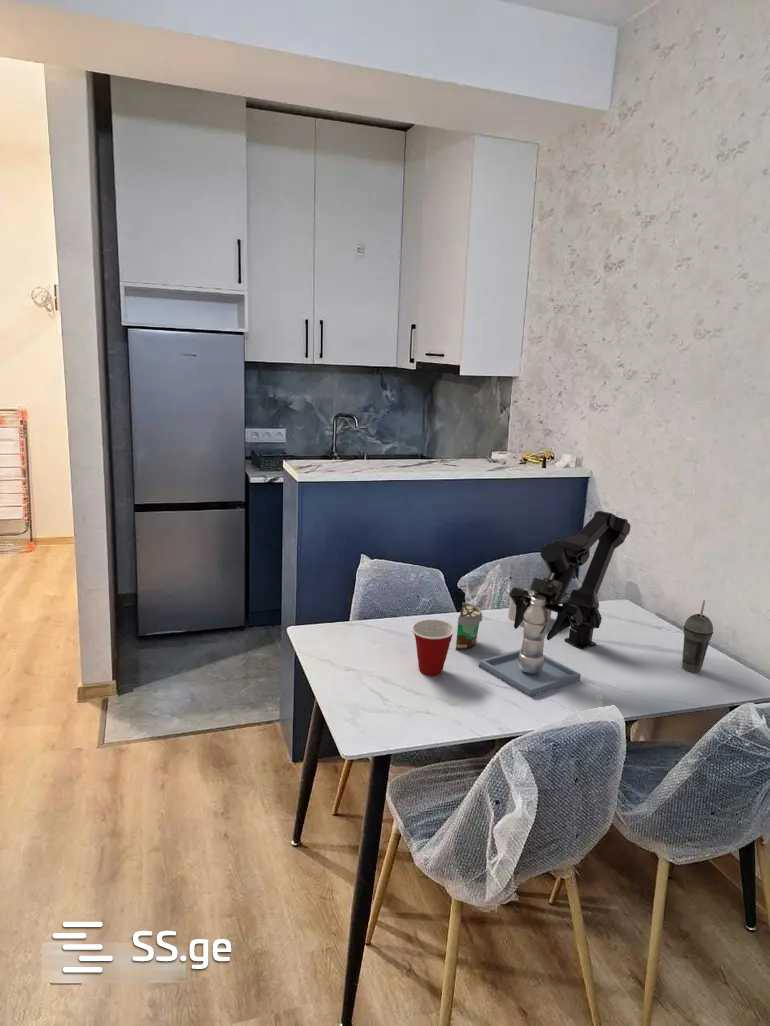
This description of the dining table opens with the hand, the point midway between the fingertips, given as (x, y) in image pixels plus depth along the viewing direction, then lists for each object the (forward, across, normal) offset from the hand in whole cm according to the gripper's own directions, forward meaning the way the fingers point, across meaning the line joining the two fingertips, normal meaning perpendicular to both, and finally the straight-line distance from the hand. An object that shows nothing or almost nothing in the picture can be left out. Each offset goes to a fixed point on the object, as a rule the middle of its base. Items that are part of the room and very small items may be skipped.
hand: (531, 633), depth 174 cm
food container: (+5, -21, +11) cm, 24 cm away
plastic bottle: (+6, 0, +9) cm, 11 cm away
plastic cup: (+20, -18, -4) cm, 27 cm away
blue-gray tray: (+7, 0, +9) cm, 11 cm away
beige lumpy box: (-17, -19, +33) cm, 42 cm away
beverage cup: (-18, +29, +35) cm, 49 cm away
